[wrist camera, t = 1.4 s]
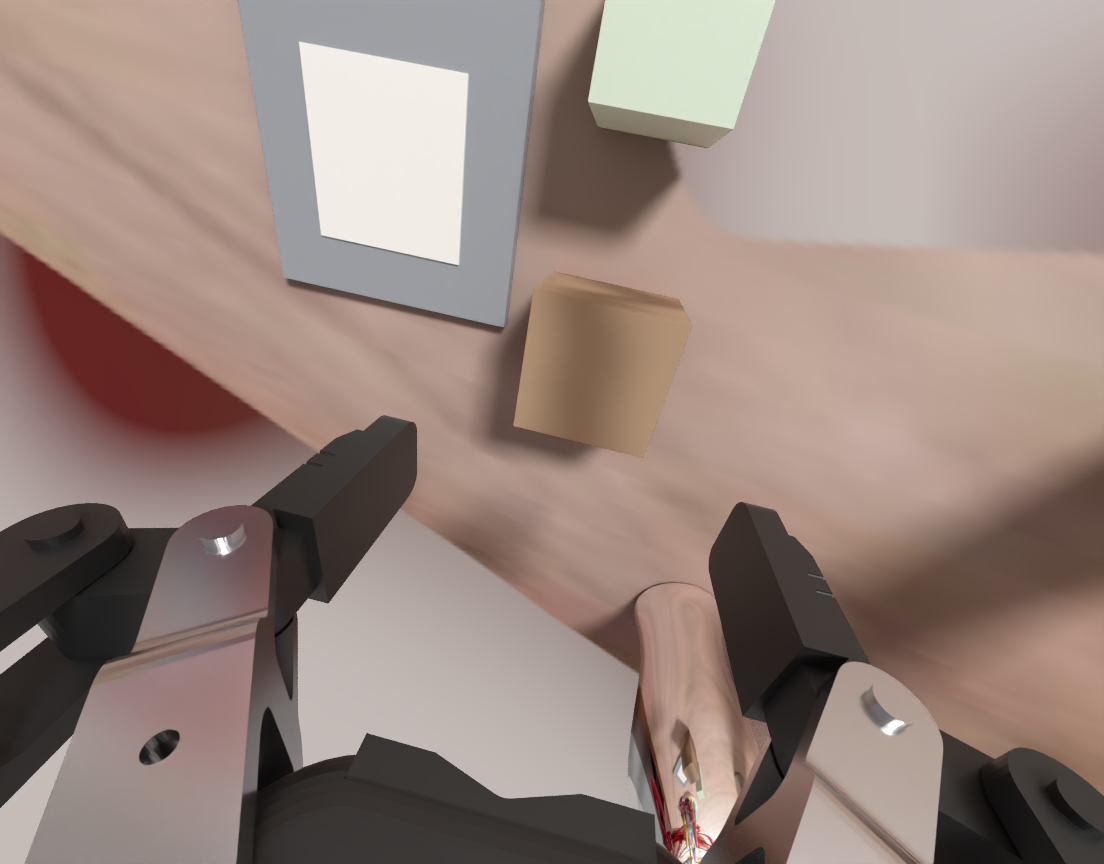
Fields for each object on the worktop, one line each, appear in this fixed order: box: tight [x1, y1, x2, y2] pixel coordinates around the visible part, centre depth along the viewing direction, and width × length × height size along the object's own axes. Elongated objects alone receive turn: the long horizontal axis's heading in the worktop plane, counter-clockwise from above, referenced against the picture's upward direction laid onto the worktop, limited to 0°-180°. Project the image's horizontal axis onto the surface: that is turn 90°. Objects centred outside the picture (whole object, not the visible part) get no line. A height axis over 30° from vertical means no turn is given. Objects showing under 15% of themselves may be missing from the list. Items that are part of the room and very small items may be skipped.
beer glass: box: [627, 583, 760, 864], centre depth 22 cm, size 7×7×15 cm
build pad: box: [237, 0, 545, 327], centre depth 18 cm, size 12×12×1 cm
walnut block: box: [513, 272, 692, 458], centre depth 18 cm, size 6×6×5 cm
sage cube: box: [588, 0, 776, 148], centre depth 13 cm, size 4×4×4 cm
